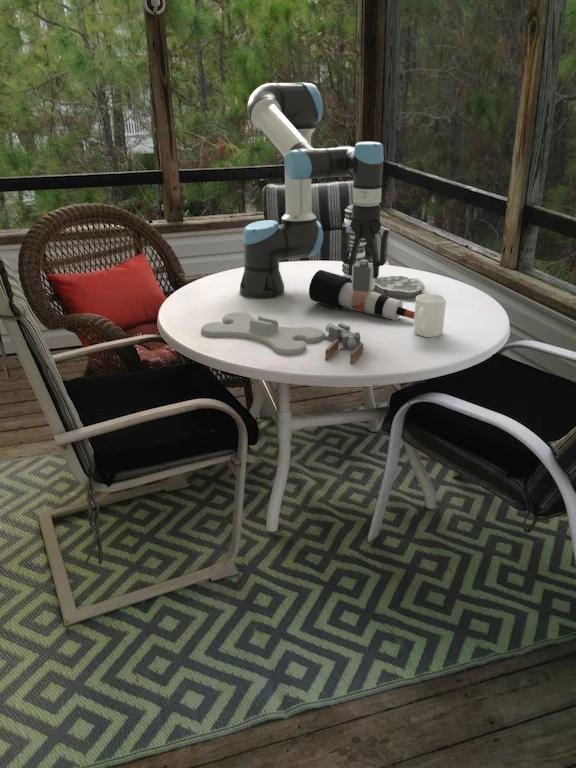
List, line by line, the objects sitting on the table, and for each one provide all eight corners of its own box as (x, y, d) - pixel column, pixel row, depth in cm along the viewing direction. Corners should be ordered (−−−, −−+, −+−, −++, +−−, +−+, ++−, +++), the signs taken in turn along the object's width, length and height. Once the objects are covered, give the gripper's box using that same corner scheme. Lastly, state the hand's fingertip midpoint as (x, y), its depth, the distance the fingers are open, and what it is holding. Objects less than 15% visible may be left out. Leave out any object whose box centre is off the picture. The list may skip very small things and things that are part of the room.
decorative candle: (367, 271, 245) (370, 203, 234) (364, 278, 237) (367, 208, 226) (343, 270, 247) (345, 202, 236) (339, 277, 239) (341, 207, 228)
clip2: (338, 343, 181) (339, 331, 180) (361, 343, 181) (362, 330, 180) (339, 350, 177) (340, 338, 175) (363, 350, 176) (364, 338, 175)
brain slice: (435, 290, 225) (435, 282, 223) (410, 303, 213) (411, 294, 211) (385, 280, 236) (385, 272, 234) (359, 292, 224) (359, 283, 223)
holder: (295, 359, 173) (295, 341, 171) (195, 335, 189) (193, 318, 187) (330, 336, 187) (330, 320, 185) (234, 315, 204) (233, 300, 202)
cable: (407, 338, 196) (405, 315, 189) (311, 307, 212) (306, 284, 204) (422, 315, 201) (421, 292, 193) (327, 286, 217) (323, 263, 209)
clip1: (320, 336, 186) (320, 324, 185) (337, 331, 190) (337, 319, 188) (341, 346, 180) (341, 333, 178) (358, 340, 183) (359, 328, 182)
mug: (429, 344, 180) (432, 308, 176) (402, 337, 185) (404, 302, 180) (447, 331, 189) (450, 296, 185) (420, 325, 194) (423, 291, 189)
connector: (352, 290, 185) (353, 261, 181) (357, 286, 188) (358, 258, 185) (368, 292, 183) (369, 263, 179) (372, 287, 187) (374, 259, 183)
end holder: (325, 359, 171) (325, 349, 170) (335, 349, 178) (335, 339, 176) (353, 364, 168) (353, 354, 167) (362, 353, 175) (363, 343, 174)
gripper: (331, 203, 175) (329, 288, 186) (395, 208, 169) (389, 295, 179) (340, 199, 182) (337, 280, 192) (402, 203, 176) (396, 287, 186)
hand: (363, 287), depth 186 cm, fingers closed on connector, 4 cm apart
